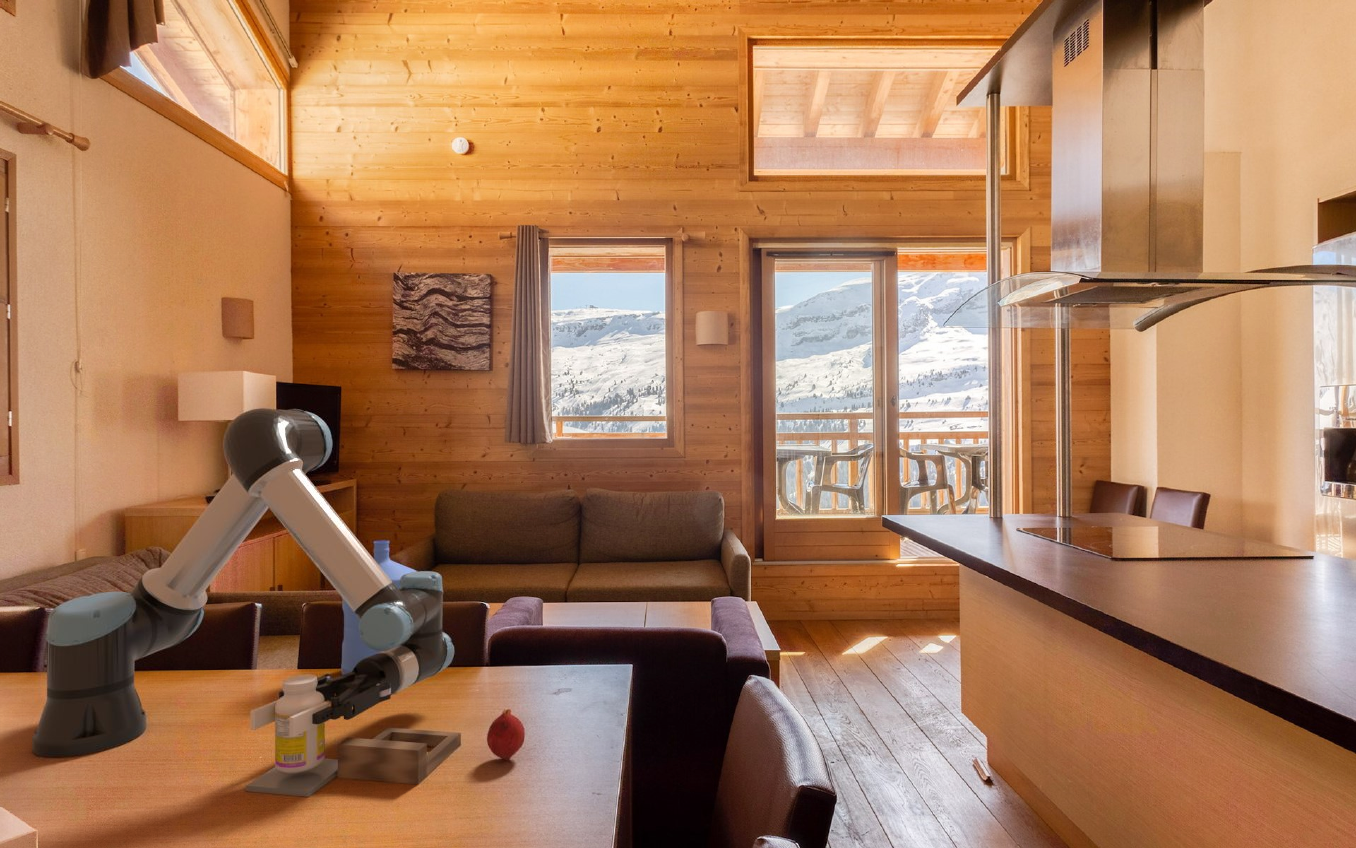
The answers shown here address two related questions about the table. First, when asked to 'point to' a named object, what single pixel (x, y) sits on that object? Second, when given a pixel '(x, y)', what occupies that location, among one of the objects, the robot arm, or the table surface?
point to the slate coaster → (295, 780)
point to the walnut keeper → (395, 755)
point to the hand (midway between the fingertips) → (272, 723)
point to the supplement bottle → (307, 745)
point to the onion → (506, 735)
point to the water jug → (352, 642)
